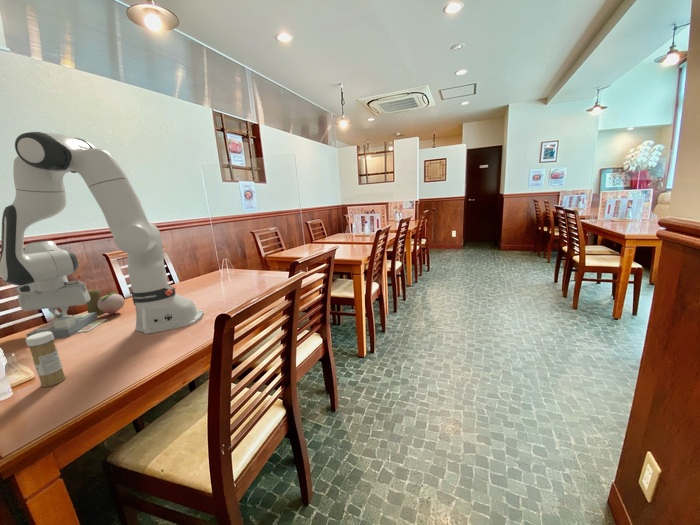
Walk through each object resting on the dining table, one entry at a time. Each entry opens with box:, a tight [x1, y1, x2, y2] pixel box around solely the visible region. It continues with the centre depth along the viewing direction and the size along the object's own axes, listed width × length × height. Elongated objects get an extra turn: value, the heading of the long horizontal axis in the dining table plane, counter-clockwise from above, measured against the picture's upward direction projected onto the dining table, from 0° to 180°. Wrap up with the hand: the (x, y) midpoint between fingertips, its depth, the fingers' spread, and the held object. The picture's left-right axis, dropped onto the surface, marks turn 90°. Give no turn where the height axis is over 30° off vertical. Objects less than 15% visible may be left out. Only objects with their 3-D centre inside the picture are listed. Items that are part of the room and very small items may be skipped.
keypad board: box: [26, 312, 99, 339], centre depth 105 cm, size 12×16×3 cm
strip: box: [76, 318, 108, 334], centre depth 107 cm, size 4×11×1 cm, turn 14°
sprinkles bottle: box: [25, 331, 67, 388], centre depth 70 cm, size 5×5×13 cm
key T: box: [34, 323, 54, 331], centre depth 100 cm, size 4×4×4 cm
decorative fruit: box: [97, 291, 126, 315], centre depth 118 cm, size 9×8×10 cm
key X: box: [52, 315, 76, 329], centre depth 101 cm, size 4×4×4 cm
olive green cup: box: [86, 288, 104, 317], centre depth 119 cm, size 6×6×11 cm
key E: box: [74, 312, 90, 319], centre depth 109 cm, size 4×4×4 cm
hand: (61, 317), depth 107 cm, fingers closed, pressing on key A
